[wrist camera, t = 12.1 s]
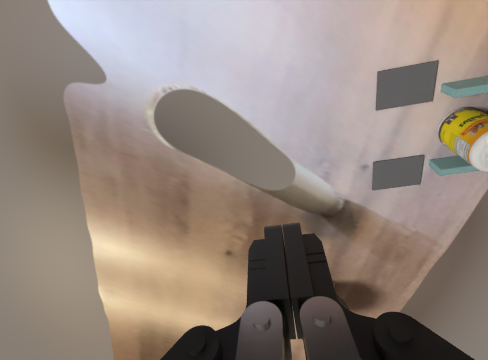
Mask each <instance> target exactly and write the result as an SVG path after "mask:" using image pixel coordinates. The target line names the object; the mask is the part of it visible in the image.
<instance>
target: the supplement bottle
mask: <svg viewBox="0 0 488 360" xmlns="http://www.w3.org/2000/svg"><path fill="white" fill-rule="evenodd" d="M438 138H439V140H440V141H441V142H442V143H443V144H444V145H445V146H447V147H448V148H449V149H451V150H452V151H453V152H455V153H456V154H457V155H459V156H460V157H461V158H463V159H464V160H465V161H467V162H468V163H469V164H471V165H472V166H473V167H475V168H477V169H478V170H481V171H486V172H488V114H485V113H483V112H481V111H479V110H477V109H474V108H460V109H457V110H455V111H453V112H451V113H449V114H448V115H447V116H446V117H445V118H444V119H443V120H442V121H441V123H440V125H439V127H438Z"/></svg>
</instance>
